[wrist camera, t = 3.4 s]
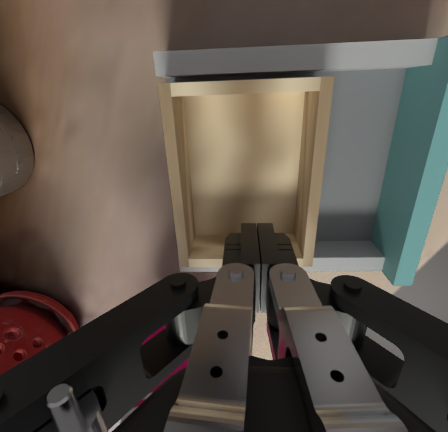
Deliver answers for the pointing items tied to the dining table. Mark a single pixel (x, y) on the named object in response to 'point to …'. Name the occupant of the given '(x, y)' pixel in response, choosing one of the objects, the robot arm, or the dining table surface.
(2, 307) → the plant pot
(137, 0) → the dining table surface
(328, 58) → the bay
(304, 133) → the crate
